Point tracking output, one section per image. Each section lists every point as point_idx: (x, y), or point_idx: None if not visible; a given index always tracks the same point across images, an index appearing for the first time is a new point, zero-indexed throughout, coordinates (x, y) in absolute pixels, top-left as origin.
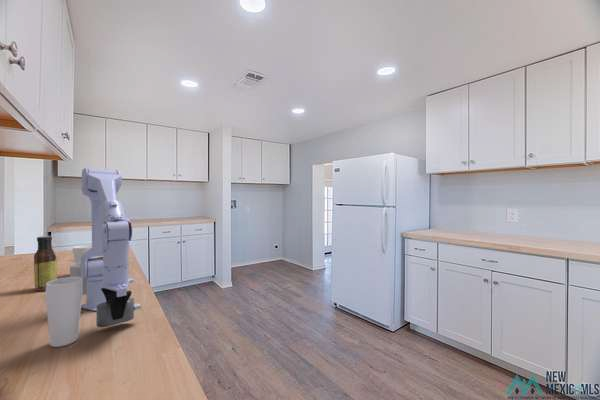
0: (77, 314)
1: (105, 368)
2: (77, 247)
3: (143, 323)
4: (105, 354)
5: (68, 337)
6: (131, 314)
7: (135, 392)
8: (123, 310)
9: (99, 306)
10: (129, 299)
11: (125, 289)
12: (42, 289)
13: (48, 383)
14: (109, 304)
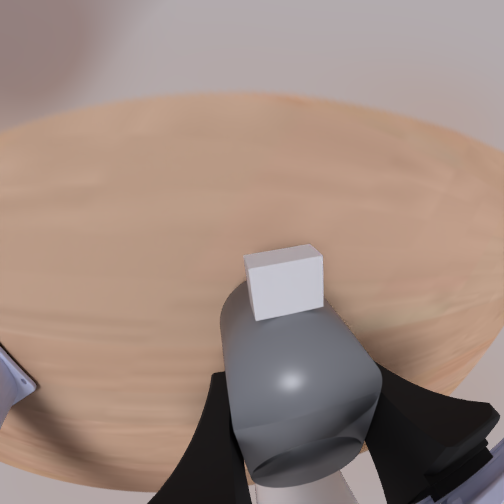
0: (340, 491)
1: (482, 315)
2: None
3: (302, 203)
4: (441, 329)
5: None
6: (327, 301)
7: None
8: (380, 369)
9: (311, 478)
10: (306, 388)
11: None
12: None
13: (444, 389)
14: (374, 457)
